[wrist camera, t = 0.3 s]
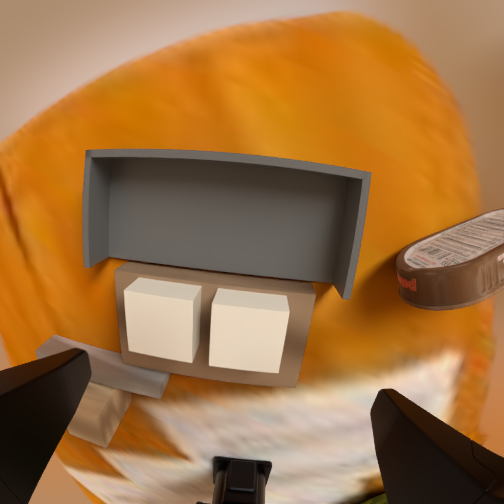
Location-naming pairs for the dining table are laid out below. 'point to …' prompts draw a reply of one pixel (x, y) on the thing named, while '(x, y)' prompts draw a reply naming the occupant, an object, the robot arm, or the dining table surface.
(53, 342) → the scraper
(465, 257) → the tin
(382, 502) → the lettuce
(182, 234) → the tray
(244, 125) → the dining table surface
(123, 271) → the board
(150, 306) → the tile
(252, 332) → the tile
